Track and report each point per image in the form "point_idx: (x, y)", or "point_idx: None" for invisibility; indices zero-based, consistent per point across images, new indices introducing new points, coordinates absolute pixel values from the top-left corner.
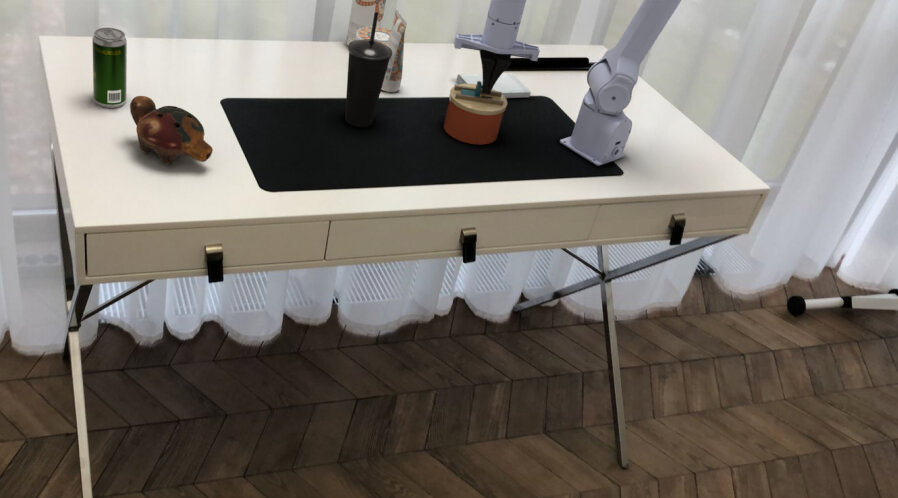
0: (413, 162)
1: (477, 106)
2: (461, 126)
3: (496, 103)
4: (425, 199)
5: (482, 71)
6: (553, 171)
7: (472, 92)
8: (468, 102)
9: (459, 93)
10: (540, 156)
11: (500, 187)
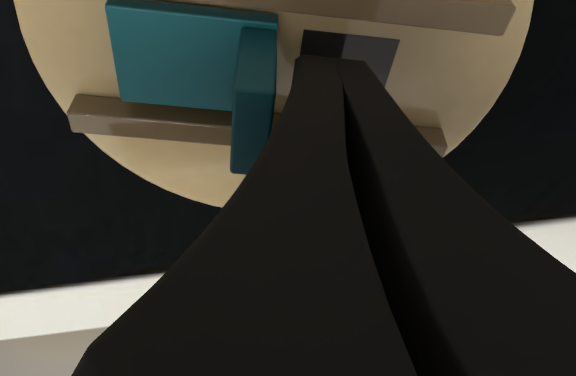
0: (37, 209)
1: (241, 180)
2: None
3: None
4: (106, 316)
5: (266, 144)
6: (539, 195)
7: (213, 58)
8: (182, 146)
9: (104, 32)
10: (558, 116)
11: None
